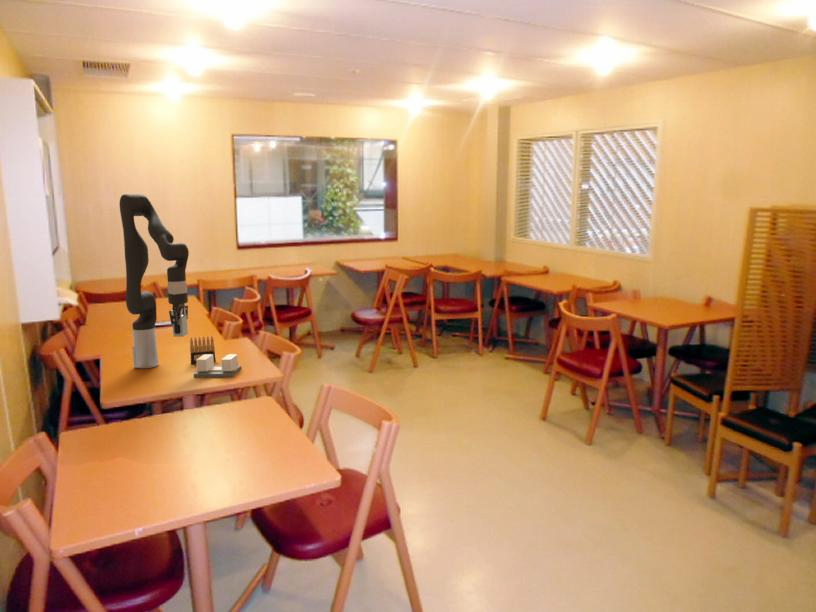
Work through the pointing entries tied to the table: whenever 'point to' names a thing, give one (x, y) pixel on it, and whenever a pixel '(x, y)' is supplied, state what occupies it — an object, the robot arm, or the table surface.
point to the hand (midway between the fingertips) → (180, 331)
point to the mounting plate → (216, 372)
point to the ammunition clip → (200, 347)
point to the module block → (182, 327)
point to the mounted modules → (208, 362)
